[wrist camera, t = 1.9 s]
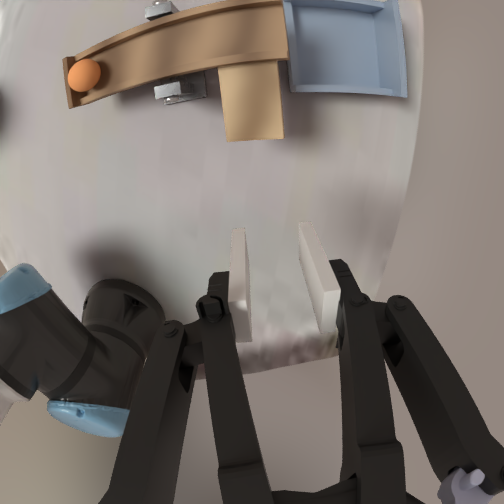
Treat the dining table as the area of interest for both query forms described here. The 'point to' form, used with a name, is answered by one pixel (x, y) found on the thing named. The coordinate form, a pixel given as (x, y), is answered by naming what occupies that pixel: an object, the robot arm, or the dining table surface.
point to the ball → (84, 75)
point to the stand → (183, 84)
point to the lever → (202, 61)
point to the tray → (345, 46)
